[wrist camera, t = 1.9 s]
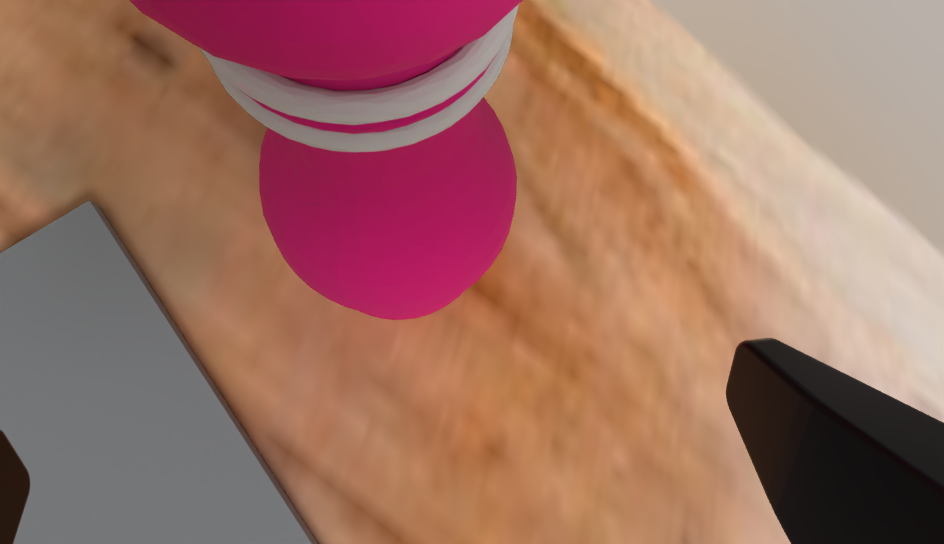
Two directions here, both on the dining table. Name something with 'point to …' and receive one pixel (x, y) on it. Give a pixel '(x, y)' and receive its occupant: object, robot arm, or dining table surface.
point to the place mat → (119, 406)
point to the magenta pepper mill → (370, 137)
